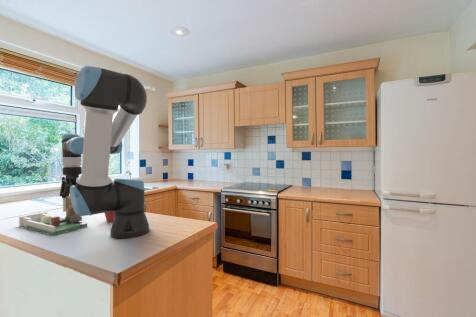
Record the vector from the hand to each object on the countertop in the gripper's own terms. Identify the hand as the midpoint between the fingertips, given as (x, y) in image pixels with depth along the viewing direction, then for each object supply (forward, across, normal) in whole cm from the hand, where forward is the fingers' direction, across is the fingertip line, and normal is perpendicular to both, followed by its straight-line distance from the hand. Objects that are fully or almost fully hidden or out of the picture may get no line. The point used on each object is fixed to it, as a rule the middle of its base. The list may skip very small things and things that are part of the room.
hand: (73, 212), depth 114 cm
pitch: (+6, +6, +7) cm, 11 cm away
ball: (+2, +8, +8) cm, 11 cm away
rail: (+6, +3, 0) cm, 7 cm away
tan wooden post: (+4, 0, +3) cm, 5 cm away
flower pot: (+6, -11, -14) cm, 19 cm away
